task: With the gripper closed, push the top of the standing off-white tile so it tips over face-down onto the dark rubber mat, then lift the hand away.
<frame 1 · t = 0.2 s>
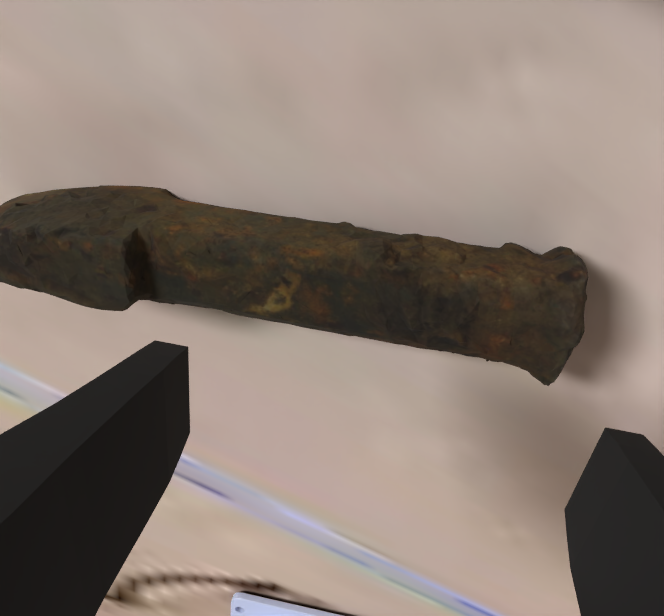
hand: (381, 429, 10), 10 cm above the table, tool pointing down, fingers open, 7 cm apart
hand tool: (282, 250, 20), on the table
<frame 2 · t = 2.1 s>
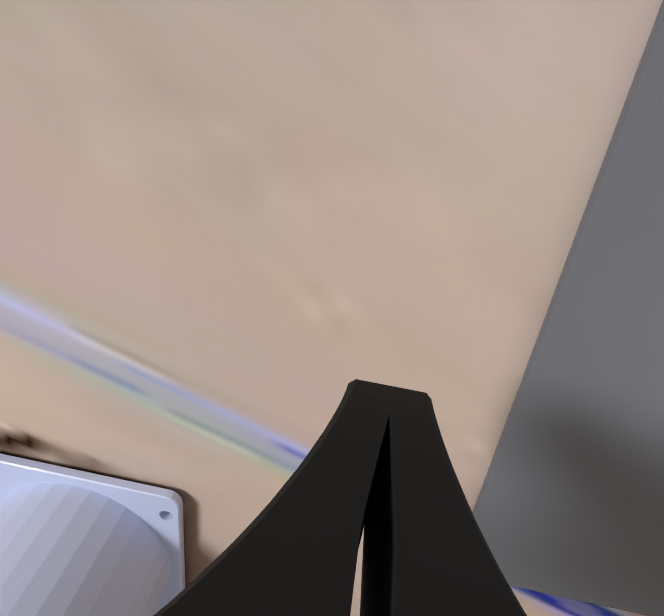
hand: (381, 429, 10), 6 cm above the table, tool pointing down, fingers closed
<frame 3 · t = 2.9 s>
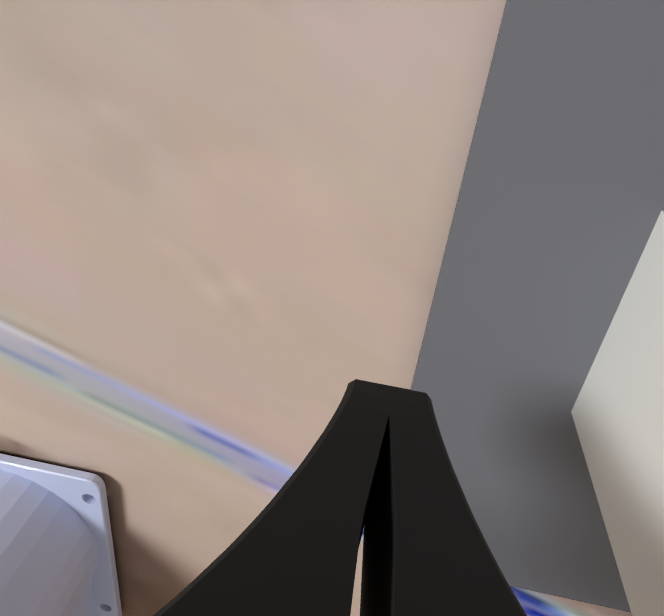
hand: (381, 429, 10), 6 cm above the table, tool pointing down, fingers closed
tile: (635, 326, 14), resting on mat
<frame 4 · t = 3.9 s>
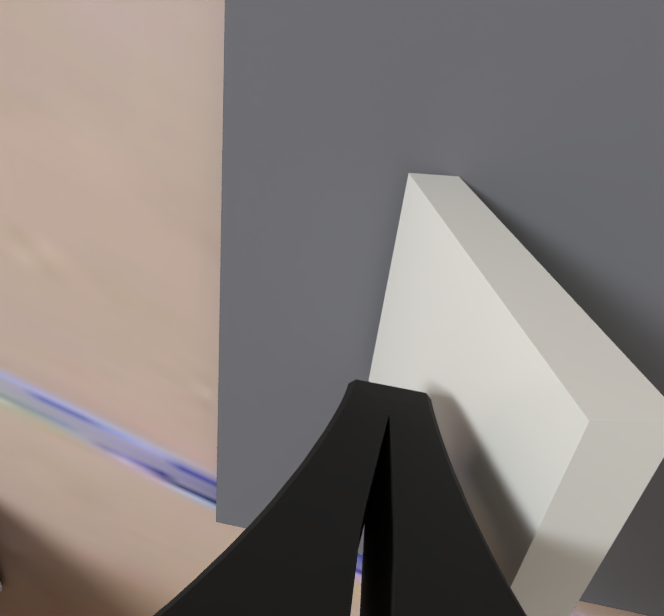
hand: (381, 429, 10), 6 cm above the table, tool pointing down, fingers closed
mat: (523, 298, 15), on the table
tile: (409, 288, 15), point 1 cm above the table, tilted 17°, touching mat
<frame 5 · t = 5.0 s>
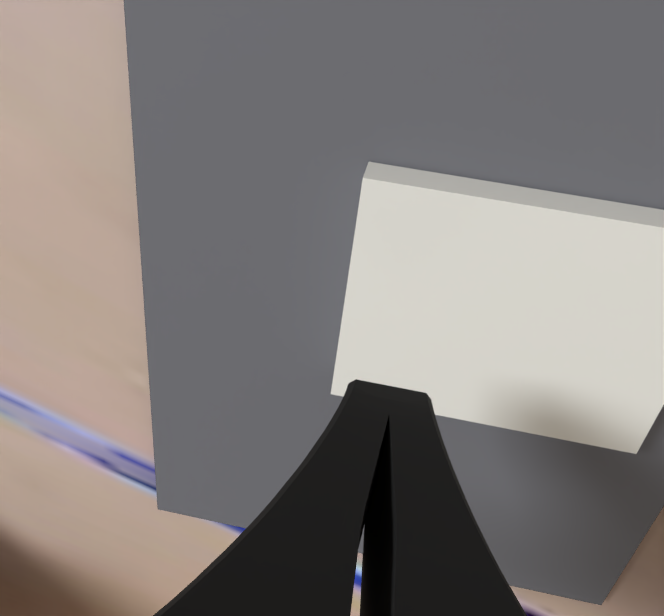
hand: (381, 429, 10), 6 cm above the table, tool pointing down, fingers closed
mat: (438, 282, 15), on the table
tile: (348, 286, 14), point 1 cm above the table, tilted 90°, touching mat
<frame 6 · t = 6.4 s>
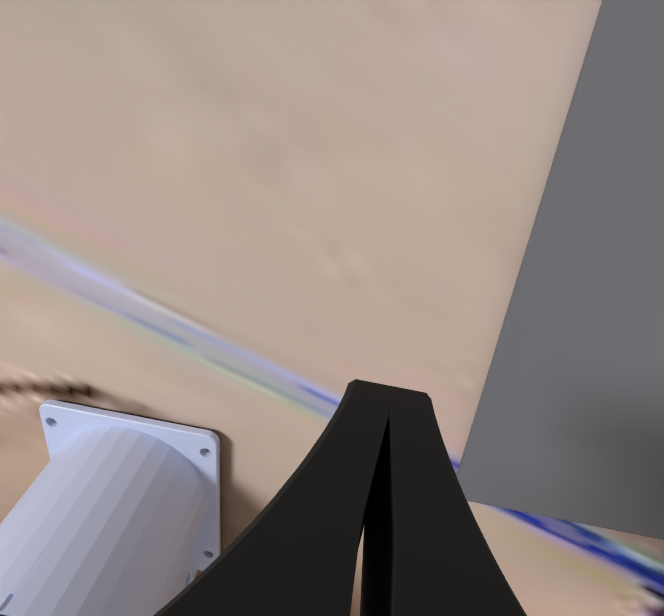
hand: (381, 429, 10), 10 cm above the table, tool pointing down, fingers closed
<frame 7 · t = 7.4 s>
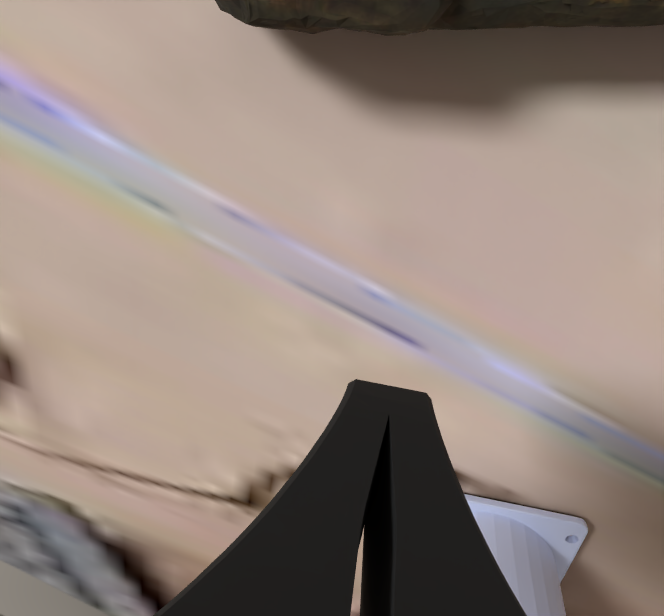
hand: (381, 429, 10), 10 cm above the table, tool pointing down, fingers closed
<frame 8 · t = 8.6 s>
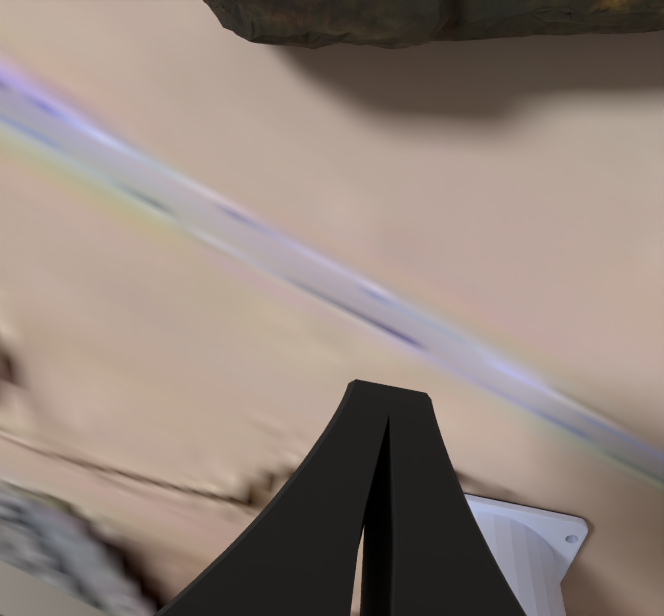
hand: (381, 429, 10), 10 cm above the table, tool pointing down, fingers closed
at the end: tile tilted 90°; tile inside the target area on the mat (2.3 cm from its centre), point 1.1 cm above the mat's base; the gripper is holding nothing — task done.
